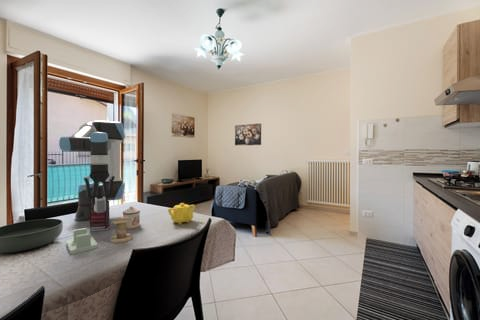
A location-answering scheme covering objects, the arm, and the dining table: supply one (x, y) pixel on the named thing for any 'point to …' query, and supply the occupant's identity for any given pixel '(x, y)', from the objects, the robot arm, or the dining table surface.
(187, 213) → the teapot
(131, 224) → the teacup with lid
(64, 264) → the dining table surface
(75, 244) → the notch board
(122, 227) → the bobbin
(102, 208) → the lead tab
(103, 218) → the supplement box
